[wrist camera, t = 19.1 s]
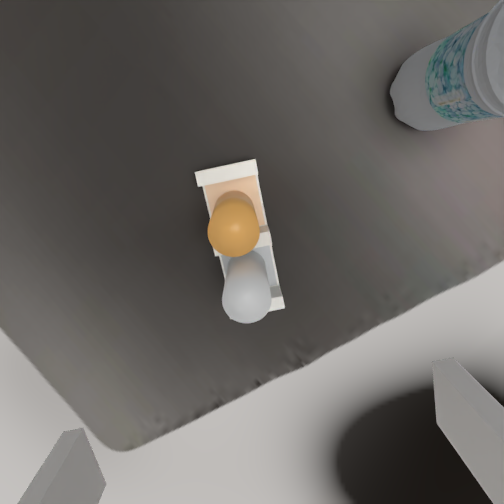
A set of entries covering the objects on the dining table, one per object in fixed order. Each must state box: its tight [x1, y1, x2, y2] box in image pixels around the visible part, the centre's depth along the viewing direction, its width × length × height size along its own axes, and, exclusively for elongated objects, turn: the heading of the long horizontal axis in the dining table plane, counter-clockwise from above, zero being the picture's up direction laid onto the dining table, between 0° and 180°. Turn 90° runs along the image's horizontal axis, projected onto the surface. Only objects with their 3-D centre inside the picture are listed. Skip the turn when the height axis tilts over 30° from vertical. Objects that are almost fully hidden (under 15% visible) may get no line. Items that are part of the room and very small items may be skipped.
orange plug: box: [208, 191, 260, 257], centre depth 28 cm, size 4×4×8 cm
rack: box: [195, 159, 285, 319], centre depth 32 cm, size 13×5×3 cm, turn 12°
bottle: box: [390, 0, 504, 131], centre depth 21 cm, size 7×7×20 cm
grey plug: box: [222, 250, 272, 323], centre depth 30 cm, size 4×4×8 cm
